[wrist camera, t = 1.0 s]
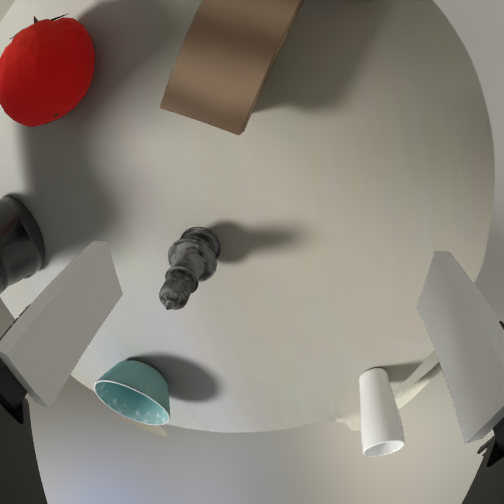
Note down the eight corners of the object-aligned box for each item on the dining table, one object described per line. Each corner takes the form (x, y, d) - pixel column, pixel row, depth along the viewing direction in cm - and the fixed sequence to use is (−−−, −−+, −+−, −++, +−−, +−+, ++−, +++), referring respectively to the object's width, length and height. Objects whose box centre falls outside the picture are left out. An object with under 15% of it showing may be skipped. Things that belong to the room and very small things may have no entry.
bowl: (185, 401, 57) (176, 432, 50) (121, 386, 58) (109, 414, 51) (173, 357, 49) (159, 393, 42) (100, 340, 50) (81, 371, 43)
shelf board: (244, 130, 24) (238, 135, 22) (172, 105, 24) (159, 107, 21) (305, -4, 17) (307, -15, 15) (229, -26, 17) (222, -38, 14)
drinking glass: (350, 370, 46) (358, 448, 33) (388, 359, 44) (404, 436, 31) (358, 389, 48) (365, 460, 36) (392, 379, 46) (406, 449, 33)
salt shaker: (183, 218, 35) (141, 274, 25) (228, 234, 35) (203, 298, 25) (173, 256, 38) (136, 318, 28) (215, 272, 38) (190, 339, 28)
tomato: (102, 108, 32) (94, 22, 25) (99, 97, 21) (91, -18, 15) (17, 138, 27) (9, 51, 21) (-18, 143, 17) (-23, 26, 11)
